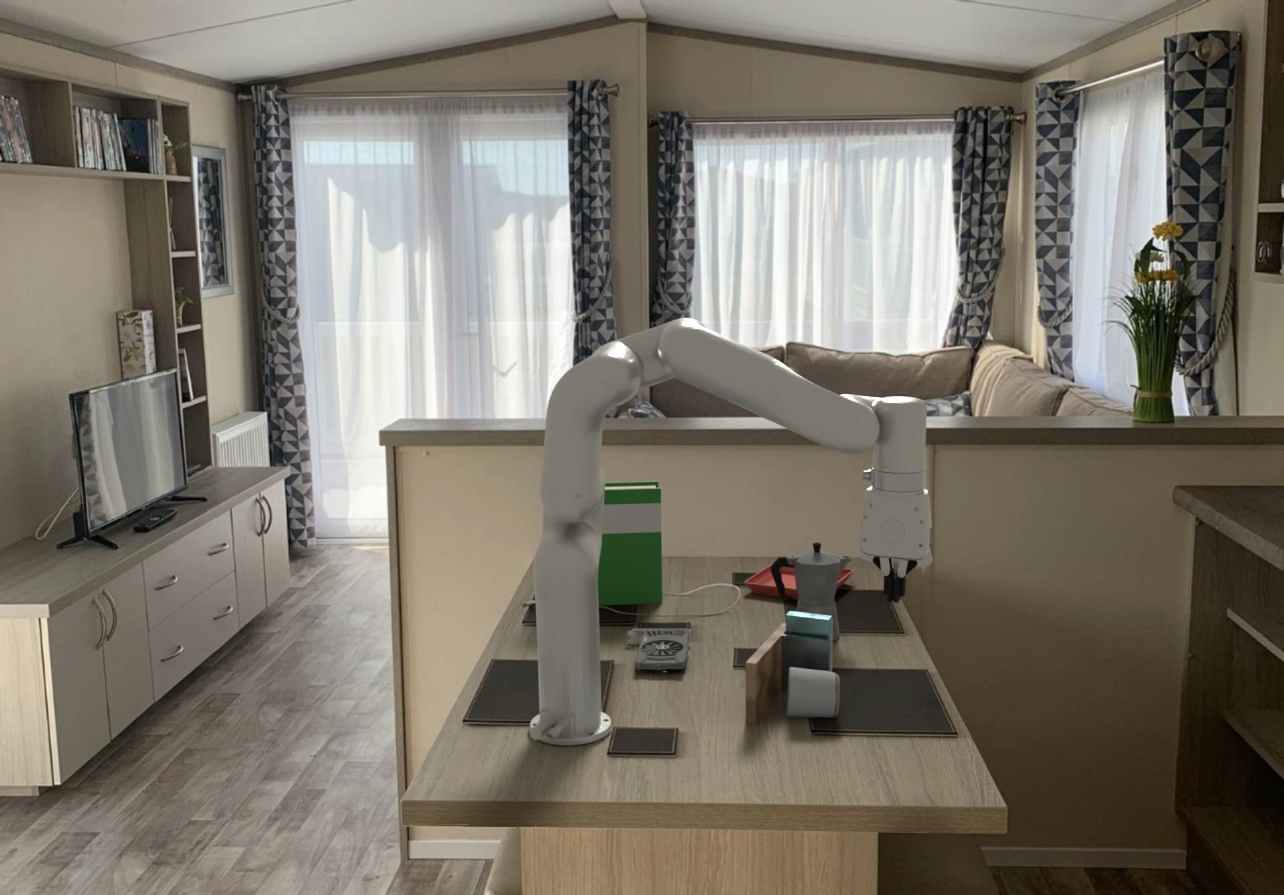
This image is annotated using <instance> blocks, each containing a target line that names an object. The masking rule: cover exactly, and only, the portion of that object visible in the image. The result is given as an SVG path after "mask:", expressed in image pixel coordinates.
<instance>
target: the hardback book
mask: <svg viewBox="0 0 1284 895" xmlns="http://www.w3.org/2000/svg"><path fill="white" fill-rule="evenodd" d="M661 491H662V488H661V487H659V480H641V481H640V480H636V481H635V480H634V481H633V480H632V481H605V494H604V510H603V528H602V546H601V554H600V560H599V565H598V603H599V604H600V605H599V606H619V605H647V604H649V605H651V604H652V605H653V604H663V575H662V574H663V567H662V566H663V565H662V564H663V558H662V557H663V554H662V553H663V552H662V550H663V549H662V548H663V546H662V545H663V544H662V492H661Z"/></svg>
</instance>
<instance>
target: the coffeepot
mask: <svg viewBox="0 0 1284 895" xmlns="http://www.w3.org/2000/svg"><path fill="white" fill-rule="evenodd" d="M821 546H822V543H820V542H813V543H812V547H813V551H806V552H801V553H795V554H794V555H793V556H792V555H791V556H790V555H789V556H778V557H777V558H776V560H774V561H773V562H772V563H773V564H772V563H771V564H772V565H771V564H770V565H771V569H770V570H771V573H772V576H773V579H774V582H775V584H776V587H777V590H778V593H779V596H780V597H779V599H781V600H783V601H786V600H789V601H790V600H792V599H791V597H792V595H789V594H786V593H785V586H784V584H783V582H782V575H781V572H780V570H779V569H780V568H781V567H793V568H794V575H795V582H796V589H797V593H798V594H799V600H797V606H796V610H795V612H803V613H812V614H821V615H829V616H832V620H833V634H832V642H834V640H835V641H837V640H838V639H839V637H840V634H841V633H840V632H841V631H840V625H839V619H838V610H837V606H836V605H837V604H836V601H835V595H836V592H837V590H836V588H837V582H838V578H839V576H840V575H841V573H842V571H843V570H844V569H846V566H848V564H849V563H850V562H852V558H850V556H846V555H841V554H834V553H831V552H826V551H821Z"/></svg>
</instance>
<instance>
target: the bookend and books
mask: <svg viewBox="0 0 1284 895" xmlns="http://www.w3.org/2000/svg"><path fill="white" fill-rule="evenodd" d="M785 623H786V634H782V646H781V694H785V695H787V692H788V672H789V668H790V667H795V668H803V669H812V670H822V671H830V672H833V641H832V634H833V620H832V616H829V615H821V614H812V613H803V612H796V611H793V610H789V611H788V612H787V613H786V614H785Z"/></svg>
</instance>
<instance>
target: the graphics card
mask: <svg viewBox="0 0 1284 895" xmlns="http://www.w3.org/2000/svg"><path fill="white" fill-rule="evenodd" d="M658 631H659V632H660V634H659V633H658ZM648 632H649V633H650V635H649V634H648ZM653 632H654V633H653ZM666 632H667V633H666ZM670 632H671V633H672V634H671V633H670ZM654 634H655V635H654ZM627 637H632V639H627V644H628V645H638V651H637V653H636V658H635V669H636V670H638V671H640V670H656V671H661V670H666V669H682V670H683V669H685V666H687V665H688V664H687V662H688V651H689V650H691V645H692V628H690V629H688V628H632V629H631V630H627ZM639 644H640V645H639ZM666 671H667V670H666Z"/></svg>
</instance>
